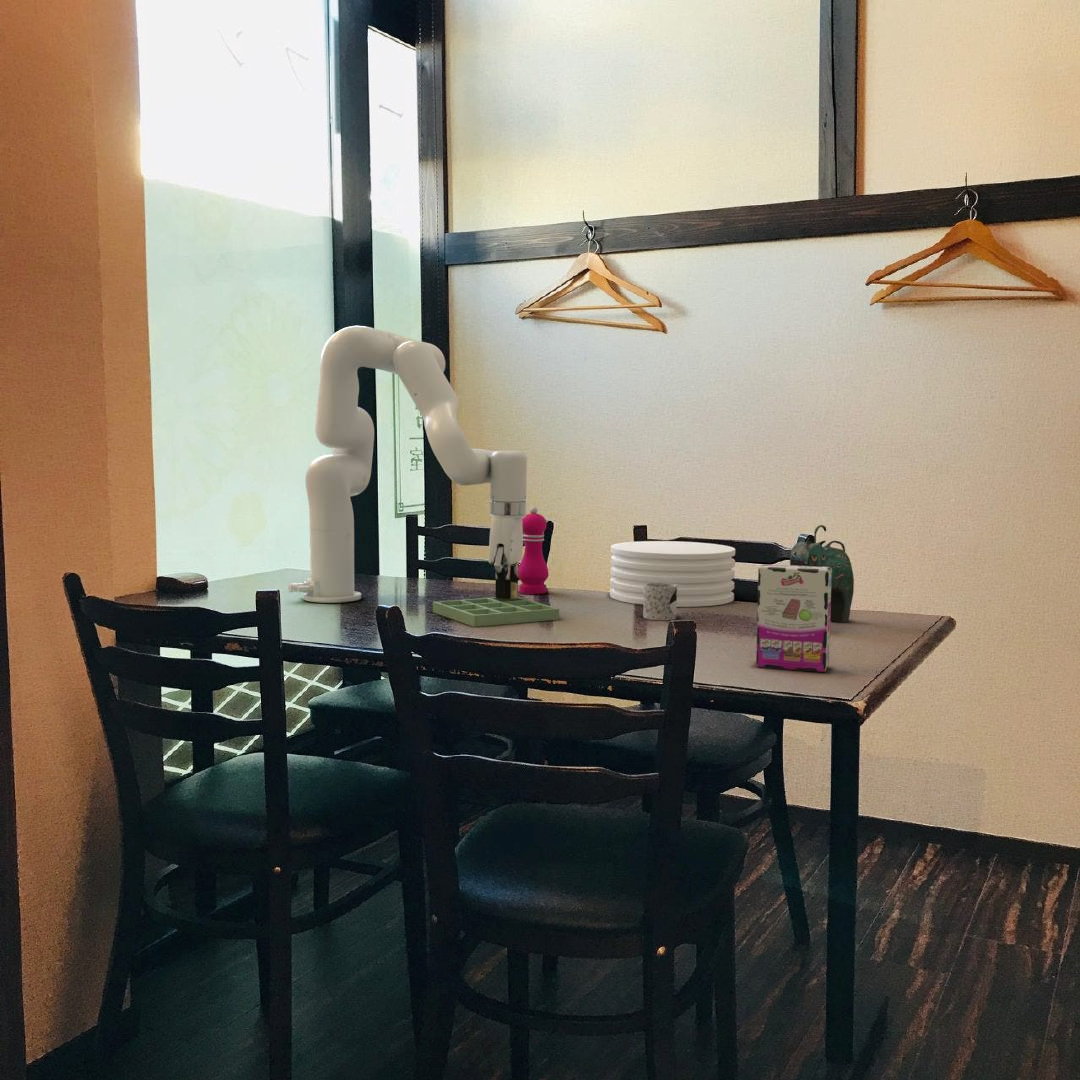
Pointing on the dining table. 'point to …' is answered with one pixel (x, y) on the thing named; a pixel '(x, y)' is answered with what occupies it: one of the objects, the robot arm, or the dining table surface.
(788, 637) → the candy bar box
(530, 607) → the grid
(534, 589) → the pepper mill
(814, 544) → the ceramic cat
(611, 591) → the plate stack
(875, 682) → the dining table surface
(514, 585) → the token
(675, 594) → the mug
